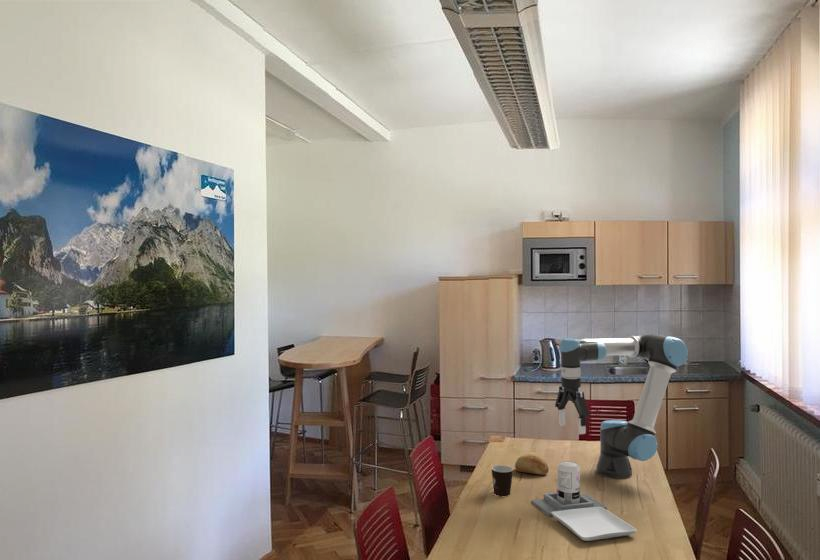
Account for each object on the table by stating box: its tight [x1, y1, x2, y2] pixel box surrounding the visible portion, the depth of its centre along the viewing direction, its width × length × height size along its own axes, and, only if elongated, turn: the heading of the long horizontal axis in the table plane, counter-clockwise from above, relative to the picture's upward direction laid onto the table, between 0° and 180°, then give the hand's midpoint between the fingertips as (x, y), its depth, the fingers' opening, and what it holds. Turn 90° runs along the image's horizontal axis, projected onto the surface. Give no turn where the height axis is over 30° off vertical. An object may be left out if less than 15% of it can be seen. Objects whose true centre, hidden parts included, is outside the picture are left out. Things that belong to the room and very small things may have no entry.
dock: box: [530, 491, 608, 518], centre depth 227 cm, size 24×14×3 cm, turn 107°
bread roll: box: [514, 454, 550, 476], centre depth 264 cm, size 10×15×8 cm, turn 63°
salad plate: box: [551, 507, 638, 542], centre depth 207 cm, size 21×21×3 cm
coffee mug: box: [490, 464, 514, 497], centre depth 241 cm, size 12×9×10 cm
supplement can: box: [556, 460, 581, 505], centre depth 227 cm, size 8×8×15 cm
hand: (572, 429), depth 241 cm, fingers open, 13 cm apart
